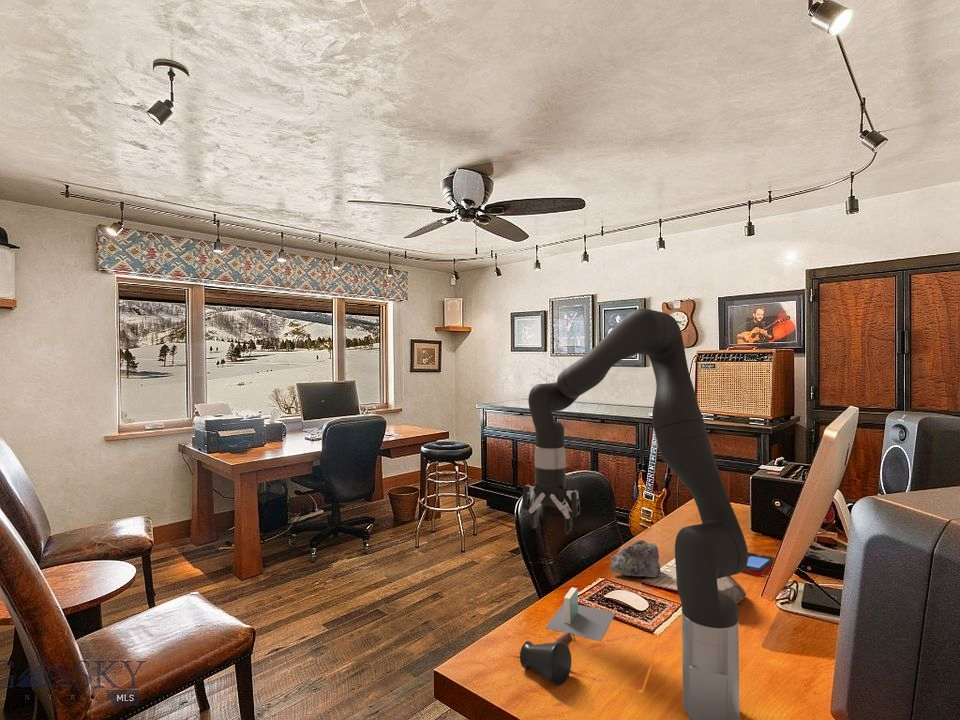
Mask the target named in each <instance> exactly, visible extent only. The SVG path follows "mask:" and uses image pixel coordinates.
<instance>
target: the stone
mask: <svg viewBox="0 0 960 720" xmlns="http://www.w3.org/2000/svg"><path fill="white" fill-rule="evenodd" d="M717 585H718V591H719V592H722V593H724V594H726V595H728V596H730V597H731V598H732V599H733V600H734V601H735V602H736V603H737V604H738V603H740V602H742V601H743V600H744V599H745V598H746V596H747V593H746V591H745V589H744V588H743V587H742V586H741V584H739V582H738V581H736V580H735V579H734V578H733V577H732V575H731V576H727V577H723V578H718V579H717Z"/></svg>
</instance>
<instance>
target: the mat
mask: <svg viewBox="0 0 960 720" xmlns="http://www.w3.org/2000/svg"><path fill="white" fill-rule="evenodd" d="M615 615H616V612H614V611H610V610H606V609H600V608H596V607H590V606H585V605H581V604H578V613H577V615H576V616H575V618H574V619H573V621H572V622H571V624H567V623H564V602H563V603H562V604H561V605H560V607H559V608H558V610H557V611H556V613H555V614H554V615H553V617H552V618H551V619H550V621H549V622H548V623H547V625H546V626H545V629H547V630H552V631H556V632H561V633H564V634H567V633H572V634H573V635H574V636H577V637H582V638H585V639H589V640H593V641H598V642H602V640H603V638H604V637H605V634H606V633H607V631H608V629H609V627H610V625H611V623H612V621H613V619H614V617H615ZM572 634H571V635H572ZM573 635H572V636H573Z"/></svg>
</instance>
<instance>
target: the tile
mask: <svg viewBox="0 0 960 720" xmlns="http://www.w3.org/2000/svg"><path fill="white" fill-rule="evenodd" d="M578 590H579V589H578V588H577V587H572V586H571V588H570V589H569V590H568V592H567V593H566V594H565V595H564V597H563V603H564V623H567V624H571V622H572V621H573V619H574V618H575V616H576V615H577V613H578V605H579V599H578V598H579V597H578V596H579V594H578V593H579V592H578Z"/></svg>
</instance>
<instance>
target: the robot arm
mask: <svg viewBox="0 0 960 720" xmlns="http://www.w3.org/2000/svg"><path fill="white" fill-rule="evenodd" d="M683 339H684V338H683V335H682V331H681V327H680V325H679V323H678V321H677V320H676V319H675V318H674V317H673V315H671V314H668V313H666V312H662V311H659V310H653V309H651V308H650V309H649V308H638V309H635V310H633V311H631V312H630V313H628V314H627V315H626V316H625V317H624V318H622V320H621V321H620V322H618V323H617V324H616V325H615V327H613V328H612V329H611V331H610V332H609V333H608V334H607V335H605V337H603V338H602V339H601V340H600V341H599V342H598V343H597V344H596V345H595V346H594V347H592V349H591V350H590V351H588V352H587V353H586V354H584V355H583V356H582V357H581V358H580V359H578V360H577V361H575V362H573V363H572V364H570V365H569V366H568V367H567V368H565V369H563V370H562V371H561V372H560V373H559V374H558V376H557V380H556V381H555V382H549V383H538V384H535V385H533V386H532V388H531V389H530V391H529V394H528V399H527V401H528V402H527V403H528V408H529V412H530V415H531V419H532V423H533V427H534V431H535V434H534V435H535V449H534V486H533V485H531V484H530V483H527V484H526V485H524V486H523V487H522V499H521V500H522V501H521V503H522V504H521V509H522V510H523V511H528V514H529V525H530V526H531V528H532V529H536V528H537V527H538V525H539V524H538V515H539V514H538V511H537V510H538V509H539V508H540V506H541V505H542V506H543V507H548V506H549V507H551V508H556V507H557V509H558V510H559V512H561V513H562V514H563V516H564V534H566V535H568V534H569V533H570V532H571V531H572V530H573V518H577V517H578V516H579V515H580V514H581V507H580V506H581V505H580V504H581V502H580V492H579V490H578V489H575V490H568V489H567V486H566V485H567V484H566V483H567V482H566V481H567V480H566V478H567V474H566V473H567V472H566V467H567V466H566V465H567V461H566V460H567V459H566V451H565V450H566V449H565V427H564V424H563V423H561V422H559V421H555V420H554V418H553V414H552V413H553V412H560V411H563V410H565V409H568V408H569V407H570V406H571V405H572V404H573V403H574V402H575V401H576V400H577V399H578V398H579V397H580V396H581V395H584V394H585V393H586V392H588V391H590V390H591V389H593V388H595V387H596V386H597V385H598V384H599V383H601V382H602V381H603V380H604V379H605V377H606V376H607V374H608V372H609V371H610V369H612V368H613V366H614V365H616V364H618V362H620V361H622V360H625V359H626V358H629V357H631V356H634V355H636V354H638V355H641V356H643V355H644V356H648V359H649V361H650V363H651V367H652V369H653V374H654V377H655V385H656V389H655V397H654V401H653V408H652V415H651V417H652V418H651V419H652V420H651V421H652V426H653V428H652V429H653V431H654V435H655V436H654V437H655V438H656V442H657V446H658V450H659V452H660V453H659V454H660V455H661V458H662V459H663V462H665V463H666V465H667V466H668V468H669V469H670V470H671V471H672V472H673V473H674V474H675V476H676V477H677V478H678V479H679V480H680V481H681V482H682V484H683V485H684V486H685V487H686V488H687V490H688V492H689V493H690V495H691V496H692V498H693V500H694V503H695V504H696V508H697V510H698V513H699V517H700V520H701V523H699V524H698V523H697V524H692V525H687V526H684V527H682V528H681V529H679V531H678V533H677V535H676V537H675V540H674V541H675V542H674V563H675V576H676V589H677V593H678V594H677V595H678V596H679V597H678V598H679V599H680V604H681V605H680V606H681V643H682V644H681V649H682V650H681V651H682V653H681V654H682V655H681V657H682V658H681V659H682V661H681V662H682V663H681V664H682V666H681V667H682V706H683V707H682V708H683V710H684V712H685V714H686V715H688V717H689V720H741V717H740V715H741V714H740V711H741V709H740V703H741V702H740V649H739V648H740V645H739V640H740V639H739V637H740V631H739V627H740V626H739V607H738V603H736V602H735V601H734V600H733V599H732V598H731V597H730V596H728V595H726V594H724V593H722V592H719V591H718V585H717V579H718V578H723V577H727V576H731V577H732V576H734V575H738V574H740V573H742V571H743V570H744V569H745V568H746V566H747V563H748V552H749V551H748V546H747V542H746V538H745V536H744V532H743V530H742V528H741V526H740V523H739V520H738V518H737V516H736V513H735V510H734V509H733V506H732V503H731V501H730V499H729V497H728V494H727V491H726V489H725V485H724V483H723V479H722V476H721V474H720V471H719V468H718V464H717V461H716V459H715V456H714V452H713V448H712V446H711V445H712V444H711V439H710V437H709V433H708V430H707V427H706V423H705V420H704V417H703V415H702V412H701V409H700V407H699V406H700V405H699V403H698V398H697V395H696V391H695V389H694V385H693V381H692V378H691V375H690V371H689V368H688V362H687V356H686V352H685V351H686V350H685V345H684V340H683ZM533 493H534V494H535V496H536V497H537V498H536V500H535V501H534V502H533V503H532V504H531V497H532V496H531V495H532V494H533ZM567 497H568V500H570V501H571V508H570V505H569V503H568V502H567V500H566V498H567Z"/></svg>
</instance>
